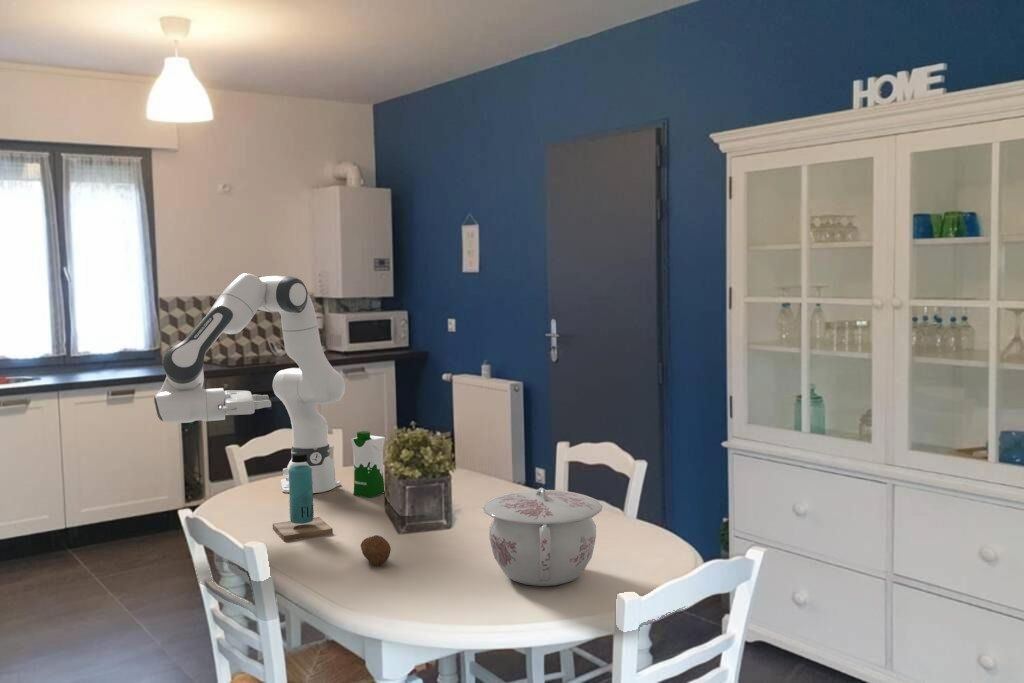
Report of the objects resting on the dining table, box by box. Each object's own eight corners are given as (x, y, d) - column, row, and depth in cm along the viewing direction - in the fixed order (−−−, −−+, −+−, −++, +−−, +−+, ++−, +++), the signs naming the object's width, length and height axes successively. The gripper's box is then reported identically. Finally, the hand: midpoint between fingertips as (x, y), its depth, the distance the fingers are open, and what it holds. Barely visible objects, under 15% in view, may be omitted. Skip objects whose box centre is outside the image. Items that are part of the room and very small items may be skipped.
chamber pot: (532, 549, 227) (531, 468, 225) (626, 572, 210) (625, 484, 208) (457, 581, 205) (455, 491, 204) (553, 609, 188) (553, 511, 186)
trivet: (272, 528, 248) (272, 523, 248) (319, 522, 254) (319, 516, 254) (284, 541, 236) (284, 535, 236) (332, 534, 242) (332, 528, 242)
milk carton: (349, 495, 282) (347, 432, 281) (368, 489, 290) (367, 427, 288) (370, 499, 278) (369, 435, 276) (389, 492, 285) (388, 430, 284)
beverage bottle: (300, 530, 240) (298, 456, 239) (284, 526, 244) (282, 453, 243) (319, 525, 246) (317, 452, 244) (303, 521, 250) (301, 449, 248)
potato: (378, 554, 225) (378, 527, 224) (401, 566, 216) (400, 538, 215) (353, 560, 221) (353, 532, 220) (375, 572, 212) (374, 543, 211)
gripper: (218, 398, 238) (272, 394, 243) (216, 387, 258) (266, 384, 262) (219, 421, 239) (273, 418, 243) (217, 409, 258) (267, 406, 263)
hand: (269, 400), depth 253 cm, fingers open, 8 cm apart
